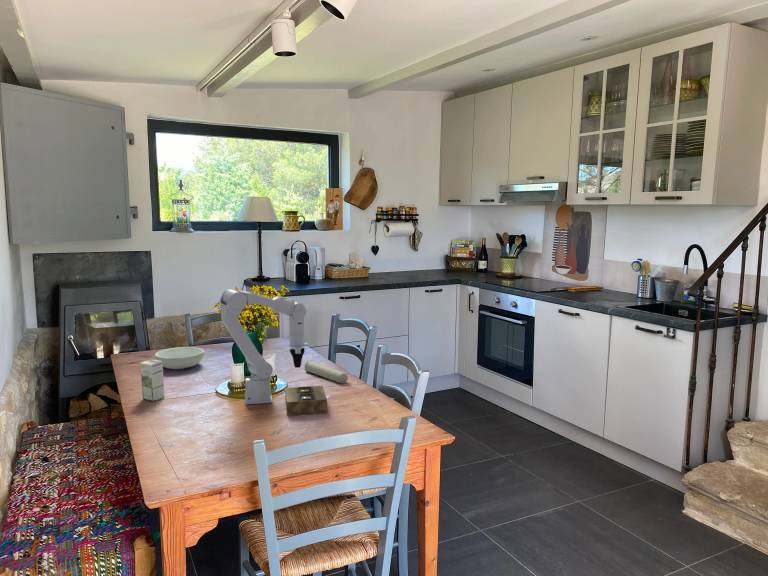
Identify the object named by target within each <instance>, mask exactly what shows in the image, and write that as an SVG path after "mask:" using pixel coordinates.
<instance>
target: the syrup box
mask: <svg viewBox="0 0 768 576" xmlns="http://www.w3.org/2000/svg"><path fill="white" fill-rule="evenodd" d="M139 364H140V373H141V374H140V375H141V376H140V377H141V390H142V391H141V392H142V400H144V399H146V400H145V401H149V400H151V401H150V402H155V401H154V400H156V401H158V400H157V399H159V400H161V399H163V398H162V397H164V398H165V385H164V384H165V383H164V367H163V366H162V361H158V360H156V359H152V358H151V359H148V360H144V361H141V362H140V363H139ZM160 398H161V399H160Z"/></svg>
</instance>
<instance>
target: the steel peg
mask: <svg viewBox="0 0 768 576" xmlns="http://www.w3.org/2000/svg"><path fill="white" fill-rule="evenodd" d="M305 398H312V396H309V395H304V396H301V399H305Z"/></svg>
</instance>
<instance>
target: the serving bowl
mask: <svg viewBox="0 0 768 576" xmlns="http://www.w3.org/2000/svg"><path fill="white" fill-rule="evenodd" d="M204 355H205V350H204V349H203V348H199V347H194V346H193V347H192V346H180V347H171V348H165V349H162V350H159V351H157V352H155V354H154V357H155V360H158V361H162V366H163V368H166V369H171V370H184V368H186V369H188V367H189V368H192V367H195V366H196V365H198V364H200V363H201V361H202V360H203V358H204Z"/></svg>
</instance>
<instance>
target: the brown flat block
mask: <svg viewBox="0 0 768 576" xmlns="http://www.w3.org/2000/svg"><path fill="white" fill-rule="evenodd" d="M303 388H307V389H310V391H301V392H299V390H300V389H303ZM284 393H285V395H284V396H285V408H286V416H287V417H288V416H290V417H291V416H304V415H305V414H307V415H317V414H319V413H321V414H328V399H327V395H326V392H325V390H324V386H323V385H312V386H311V385H310V386H309V385H308V386H296V387H295V386H292V387H285V389H284ZM304 395H309V396H312V398H305V399H301V396H304ZM319 415H320V414H319Z"/></svg>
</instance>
